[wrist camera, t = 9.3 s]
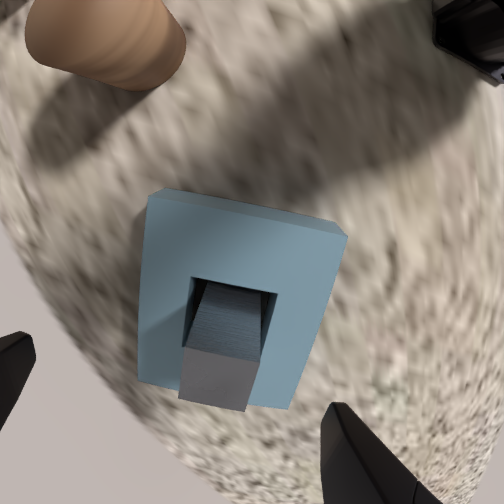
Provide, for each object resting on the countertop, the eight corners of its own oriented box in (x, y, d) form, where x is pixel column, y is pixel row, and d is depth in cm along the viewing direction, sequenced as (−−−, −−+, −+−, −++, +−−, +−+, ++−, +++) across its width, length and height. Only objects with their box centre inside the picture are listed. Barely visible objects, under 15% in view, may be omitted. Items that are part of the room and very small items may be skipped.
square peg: (260, 280, 20) (260, 362, 12) (249, 321, 21) (244, 411, 13) (212, 270, 20) (184, 347, 12) (204, 312, 21) (178, 398, 13)
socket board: (334, 222, 18) (348, 236, 16) (285, 380, 22) (287, 409, 19) (165, 187, 18) (148, 196, 15) (149, 354, 22) (137, 380, 19)
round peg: (195, 15, 15) (156, -54, 7) (175, 95, 16) (116, 65, 9) (116, 14, 14) (48, -36, 7) (96, 89, 16) (12, 71, 8)
